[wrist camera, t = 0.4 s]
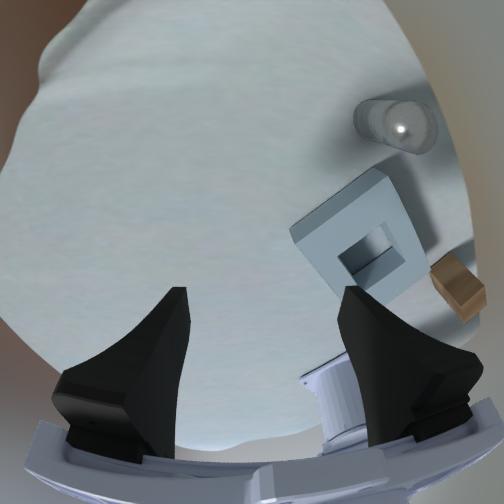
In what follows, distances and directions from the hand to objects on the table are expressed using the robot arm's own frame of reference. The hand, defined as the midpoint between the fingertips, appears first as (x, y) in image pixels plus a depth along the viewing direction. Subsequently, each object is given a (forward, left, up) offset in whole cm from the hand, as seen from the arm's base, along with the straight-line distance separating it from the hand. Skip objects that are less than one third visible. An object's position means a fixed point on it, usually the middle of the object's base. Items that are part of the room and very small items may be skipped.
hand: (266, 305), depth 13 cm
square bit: (-16, -12, -10) cm, 22 cm away
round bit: (+1, -12, -10) cm, 15 cm away
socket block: (-7, -6, -10) cm, 13 cm away
